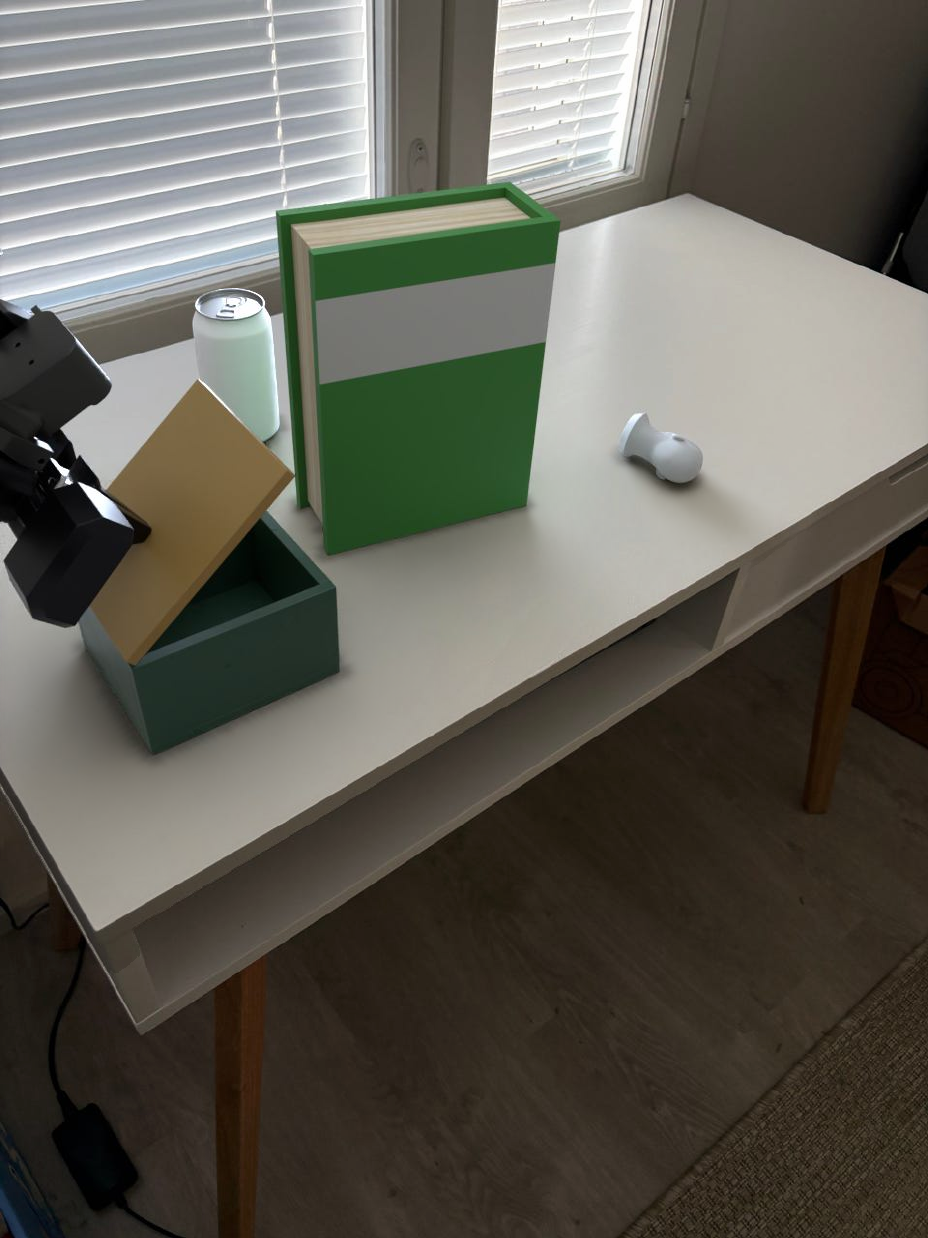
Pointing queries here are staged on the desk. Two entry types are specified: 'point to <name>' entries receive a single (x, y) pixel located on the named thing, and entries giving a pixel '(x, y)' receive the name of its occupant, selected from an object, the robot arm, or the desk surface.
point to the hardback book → (414, 356)
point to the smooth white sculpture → (661, 450)
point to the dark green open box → (229, 642)
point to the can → (238, 356)
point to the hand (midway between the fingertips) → (145, 533)
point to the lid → (184, 514)
